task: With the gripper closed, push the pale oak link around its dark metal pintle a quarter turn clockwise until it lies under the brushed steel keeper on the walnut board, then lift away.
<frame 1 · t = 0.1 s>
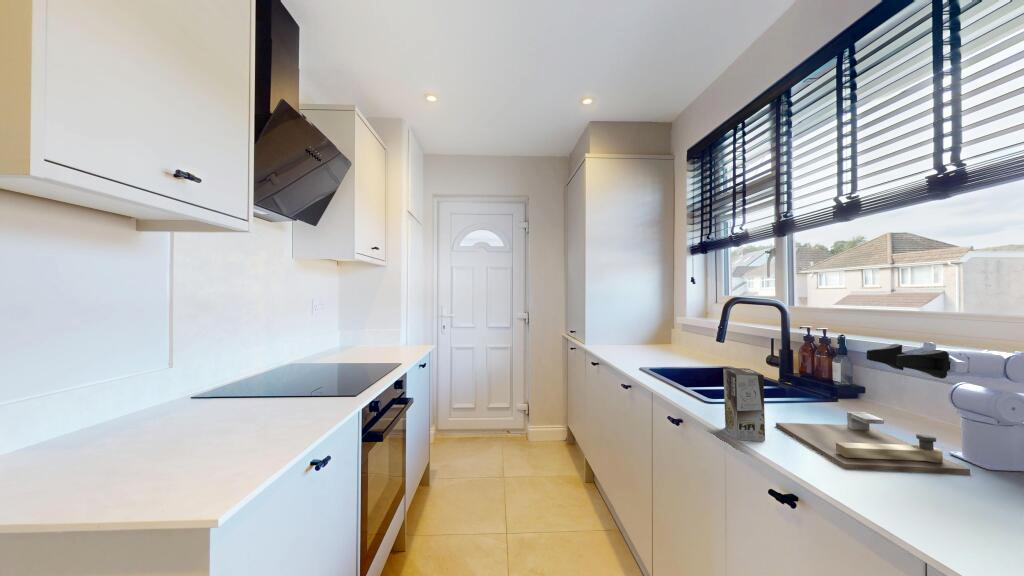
hand: (882, 357, 81), 22 cm above the worktop, tool horizontal, fingers open, 7 cm apart
base board: (857, 446, 87), on the worktop
coffee box: (744, 435, 96), on the worktop
link: (888, 446, 79), point 3 cm above the worktop, hinge at 0.0°
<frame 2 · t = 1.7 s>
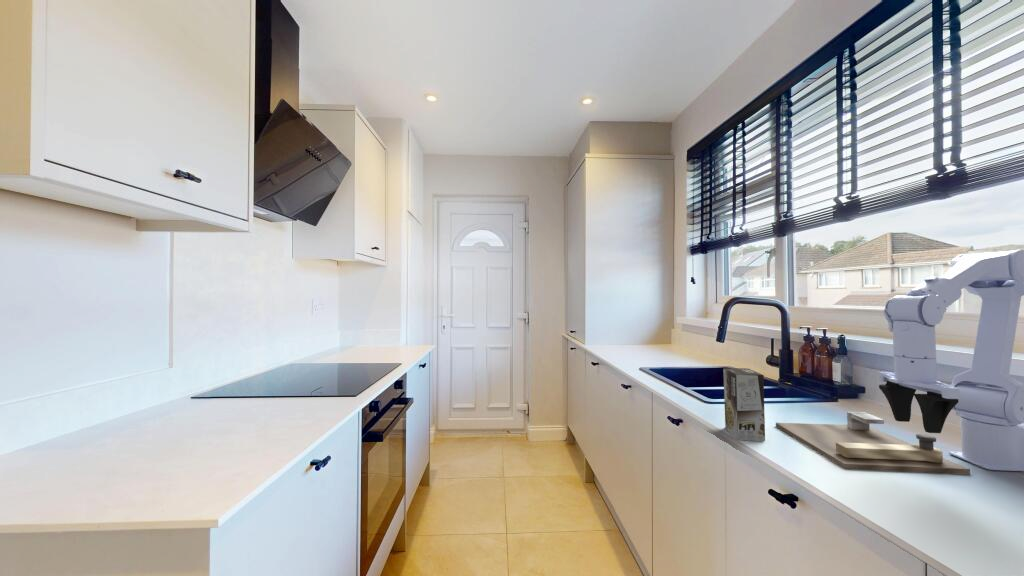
hand: (917, 426, 73), 9 cm above the worktop, tool pointing down, fingers open, 6 cm apart
nothing on the worktop moved.
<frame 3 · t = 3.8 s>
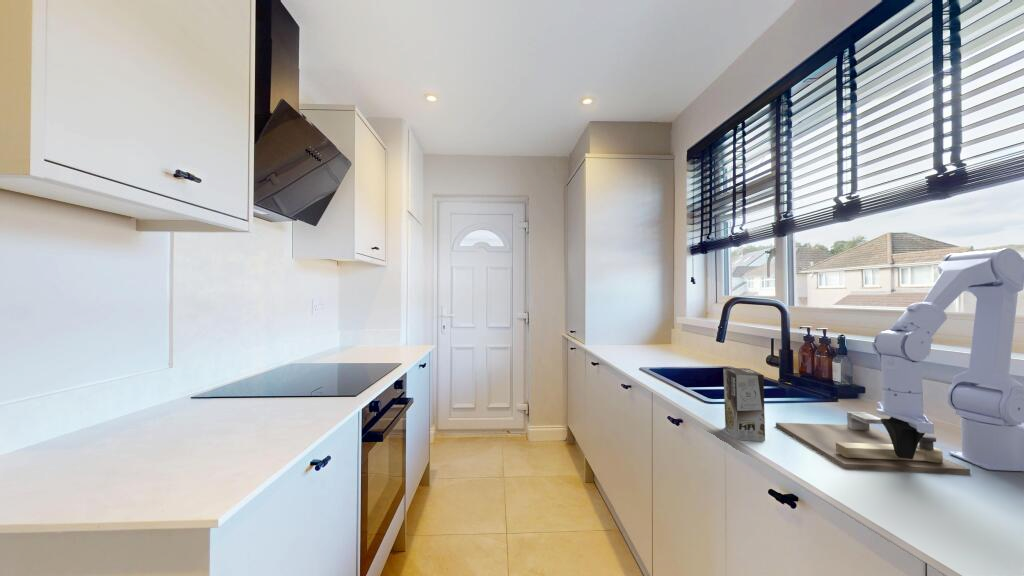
hand: (904, 457, 76), 2 cm above the worktop, tool pointing down, fingers closed, pressing on link
link: (888, 446, 79), point 3 cm above the worktop, hinge at 0.0°, touching gripper
everything else where it was.
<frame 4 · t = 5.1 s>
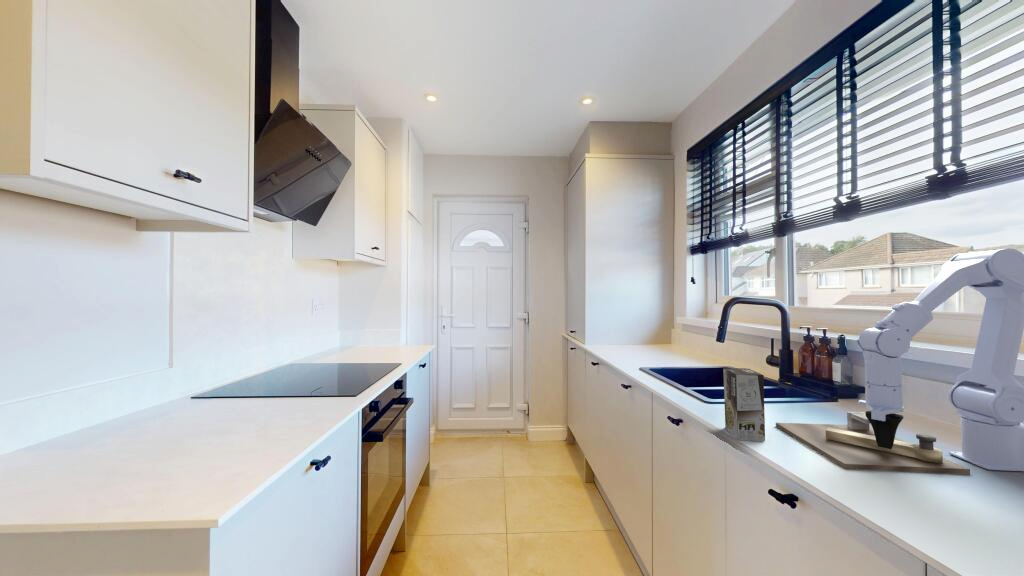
hand: (885, 447, 81), 2 cm above the worktop, tool pointing down, fingers closed, pressing on link
link: (879, 438, 83), point 3 cm above the worktop, hinge at -40.5°, touching gripper
everything else where it was.
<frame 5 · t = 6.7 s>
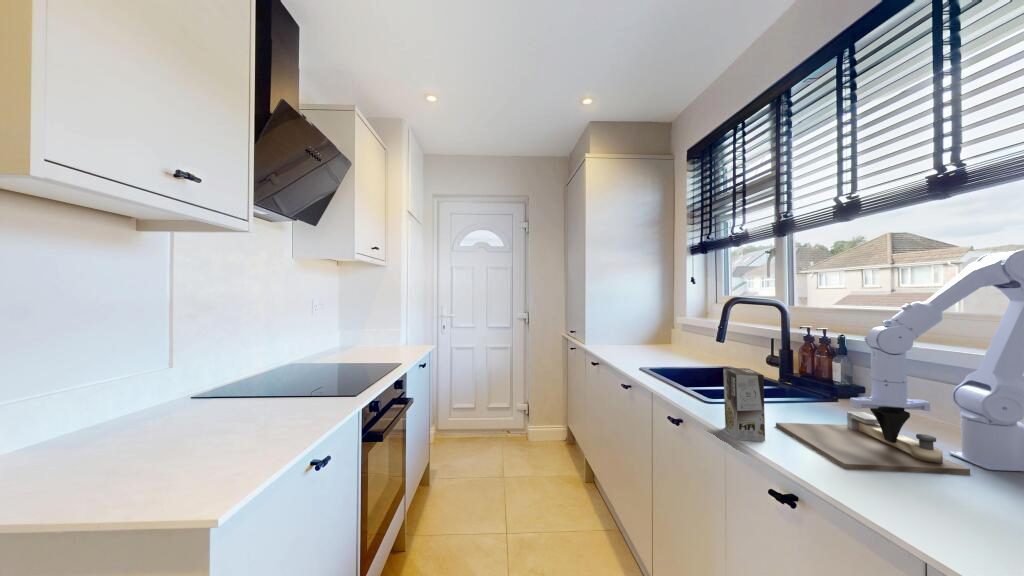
hand: (890, 441, 84), 2 cm above the worktop, tool pointing down, fingers closed
link: (897, 435, 85), point 3 cm above the worktop, hinge at -90.3°, touching gripper
everything else where it was.
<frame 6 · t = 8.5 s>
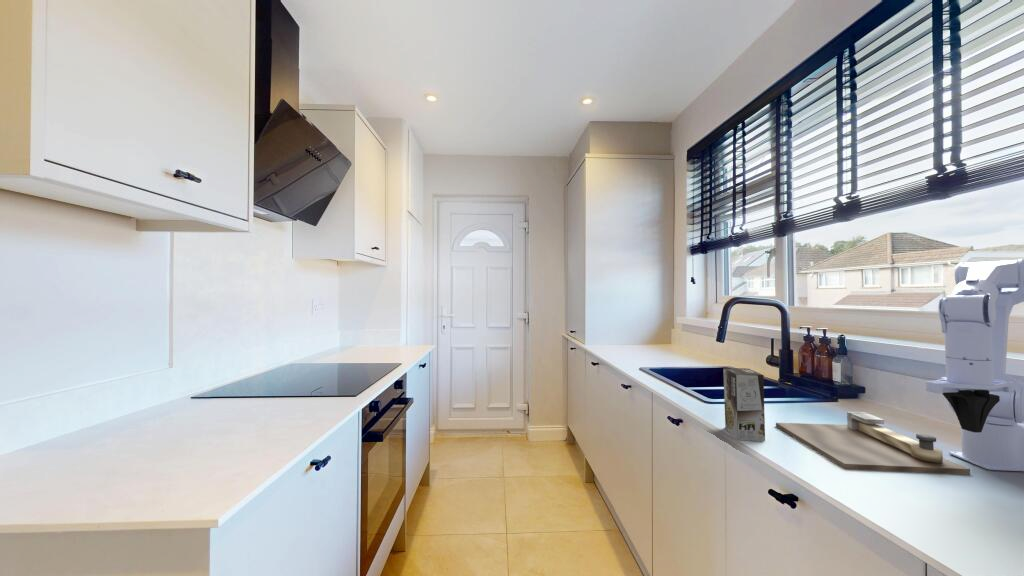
hand: (971, 430, 71), 9 cm above the worktop, tool pointing down, fingers closed
link: (897, 435, 85), point 3 cm above the worktop, hinge at -90.5°
everything else where it was.
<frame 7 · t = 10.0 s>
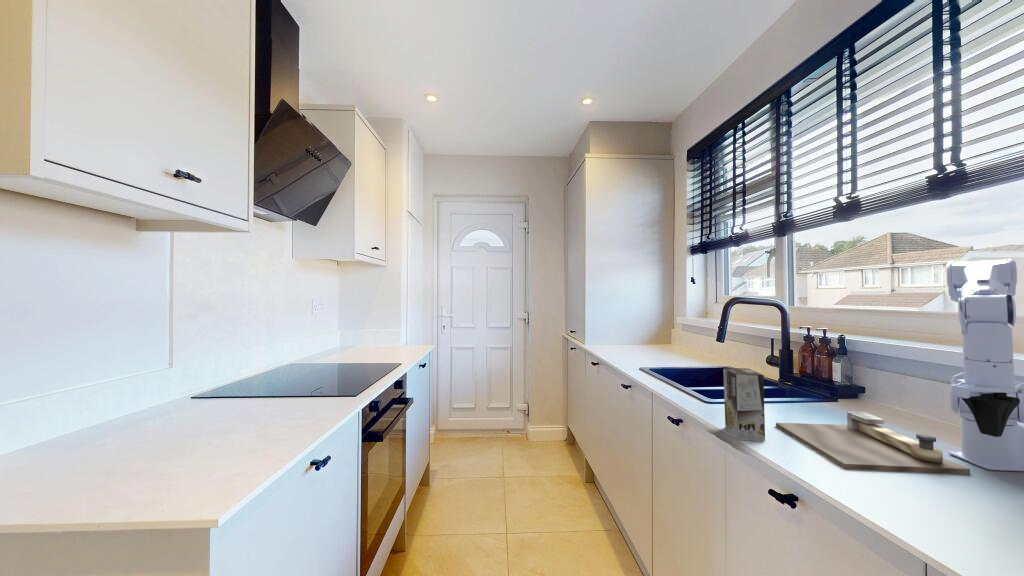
hand: (990, 434, 69), 9 cm above the worktop, tool pointing down, fingers closed
nothing on the worktop moved.
at the end: link at -90° (first picture: +0°); coffee box moved 0.2 cm from its start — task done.
